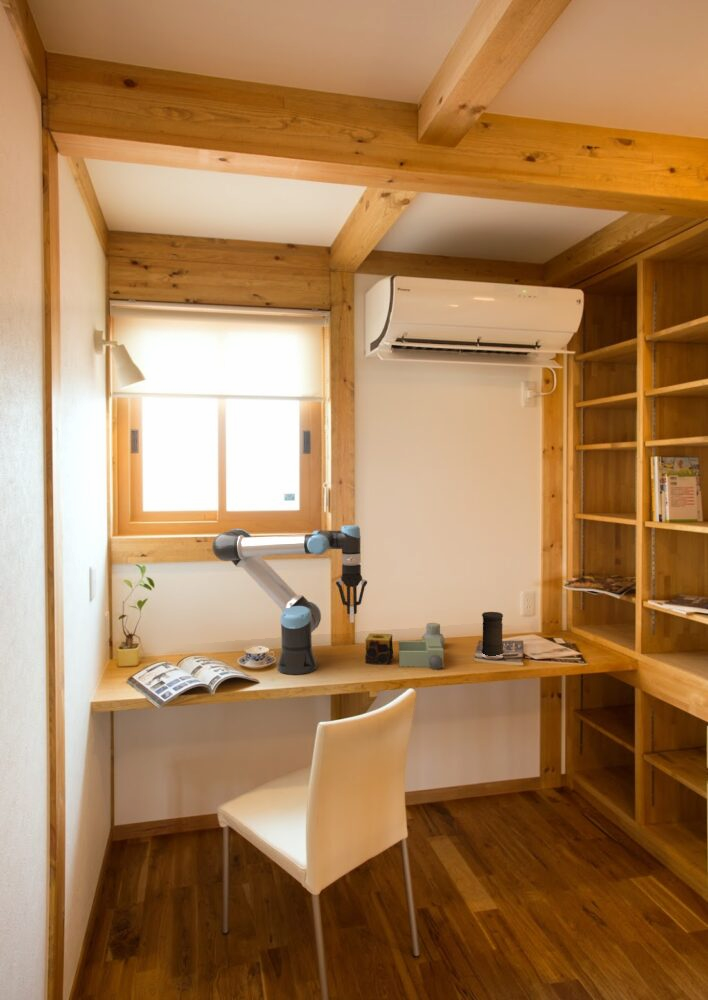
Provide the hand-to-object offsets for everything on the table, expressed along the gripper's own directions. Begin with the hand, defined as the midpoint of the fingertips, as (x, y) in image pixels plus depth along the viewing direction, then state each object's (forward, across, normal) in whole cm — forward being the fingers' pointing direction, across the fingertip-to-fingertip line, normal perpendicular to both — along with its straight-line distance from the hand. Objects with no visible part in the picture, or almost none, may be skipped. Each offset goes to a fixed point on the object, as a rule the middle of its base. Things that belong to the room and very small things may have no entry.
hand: (352, 621), depth 262 cm
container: (+16, +57, +6) cm, 60 cm away
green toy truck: (+16, +27, 0) cm, 31 cm away
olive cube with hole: (+16, +11, 0) cm, 20 cm away
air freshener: (+16, +34, +20) cm, 43 cm away
